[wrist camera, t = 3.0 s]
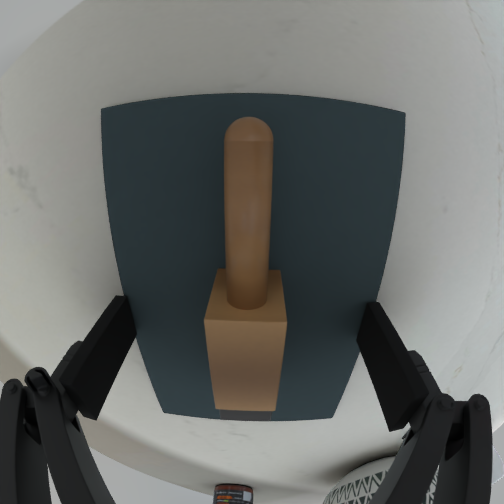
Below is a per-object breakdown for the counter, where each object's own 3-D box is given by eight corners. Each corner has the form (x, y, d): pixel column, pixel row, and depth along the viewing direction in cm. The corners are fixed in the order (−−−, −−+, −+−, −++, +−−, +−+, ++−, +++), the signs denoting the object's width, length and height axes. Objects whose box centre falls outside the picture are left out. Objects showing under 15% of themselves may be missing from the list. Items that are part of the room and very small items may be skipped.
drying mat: (105, 109, 10) (100, 108, 10) (400, 113, 10) (406, 112, 10) (164, 408, 20) (163, 412, 19) (331, 413, 19) (332, 418, 19)
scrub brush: (214, 120, 10) (192, 114, 7) (287, 121, 10) (302, 115, 7) (224, 374, 16) (218, 425, 13) (271, 375, 16) (272, 427, 13)
